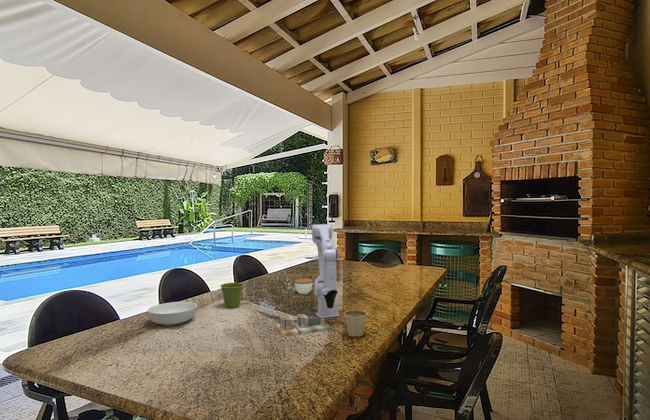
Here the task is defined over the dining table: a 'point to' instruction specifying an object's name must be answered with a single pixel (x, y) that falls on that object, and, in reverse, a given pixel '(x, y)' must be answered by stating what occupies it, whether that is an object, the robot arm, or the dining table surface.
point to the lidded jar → (303, 285)
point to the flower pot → (355, 322)
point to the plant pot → (232, 294)
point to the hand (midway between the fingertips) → (330, 307)
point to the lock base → (292, 328)
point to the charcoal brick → (311, 321)
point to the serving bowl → (172, 312)
